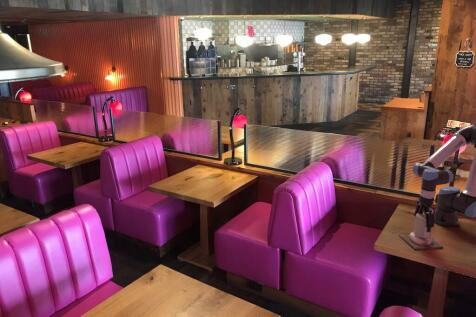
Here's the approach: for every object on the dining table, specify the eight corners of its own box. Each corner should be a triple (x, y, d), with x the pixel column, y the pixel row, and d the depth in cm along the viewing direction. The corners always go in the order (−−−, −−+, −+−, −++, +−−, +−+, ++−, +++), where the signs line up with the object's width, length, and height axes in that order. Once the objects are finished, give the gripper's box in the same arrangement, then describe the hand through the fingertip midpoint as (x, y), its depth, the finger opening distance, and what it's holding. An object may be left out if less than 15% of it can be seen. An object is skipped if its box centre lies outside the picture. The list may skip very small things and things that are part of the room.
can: (432, 238, 224) (435, 219, 220) (415, 237, 225) (418, 217, 222) (428, 231, 232) (431, 212, 229) (411, 229, 234) (414, 211, 231)
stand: (425, 234, 239) (426, 229, 238) (442, 248, 223) (443, 242, 222) (399, 235, 237) (399, 230, 236) (414, 250, 221) (415, 244, 220)
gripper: (410, 189, 232) (405, 224, 238) (432, 204, 211) (426, 242, 218) (422, 189, 233) (417, 224, 239) (445, 203, 212) (439, 241, 219)
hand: (421, 232), depth 228 cm, fingers closed on can, 9 cm apart
